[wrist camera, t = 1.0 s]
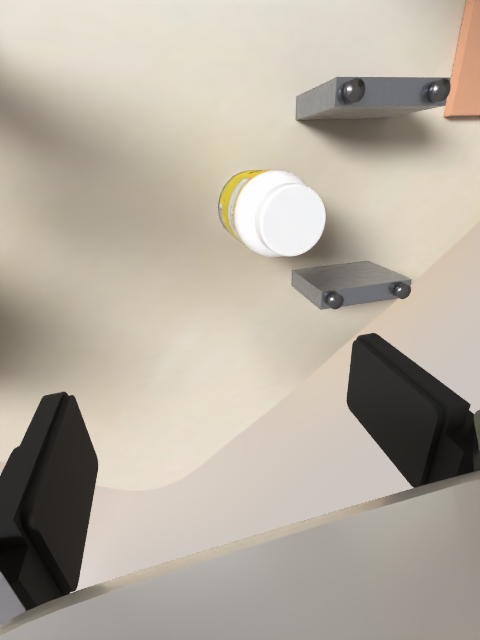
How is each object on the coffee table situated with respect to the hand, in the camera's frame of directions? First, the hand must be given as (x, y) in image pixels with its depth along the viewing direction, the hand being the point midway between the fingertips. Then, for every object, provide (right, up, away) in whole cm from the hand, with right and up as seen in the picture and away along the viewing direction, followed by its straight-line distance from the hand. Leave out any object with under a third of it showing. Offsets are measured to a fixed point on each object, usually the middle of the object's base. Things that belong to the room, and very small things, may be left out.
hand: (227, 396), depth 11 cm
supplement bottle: (+1, +12, +16) cm, 20 cm away
